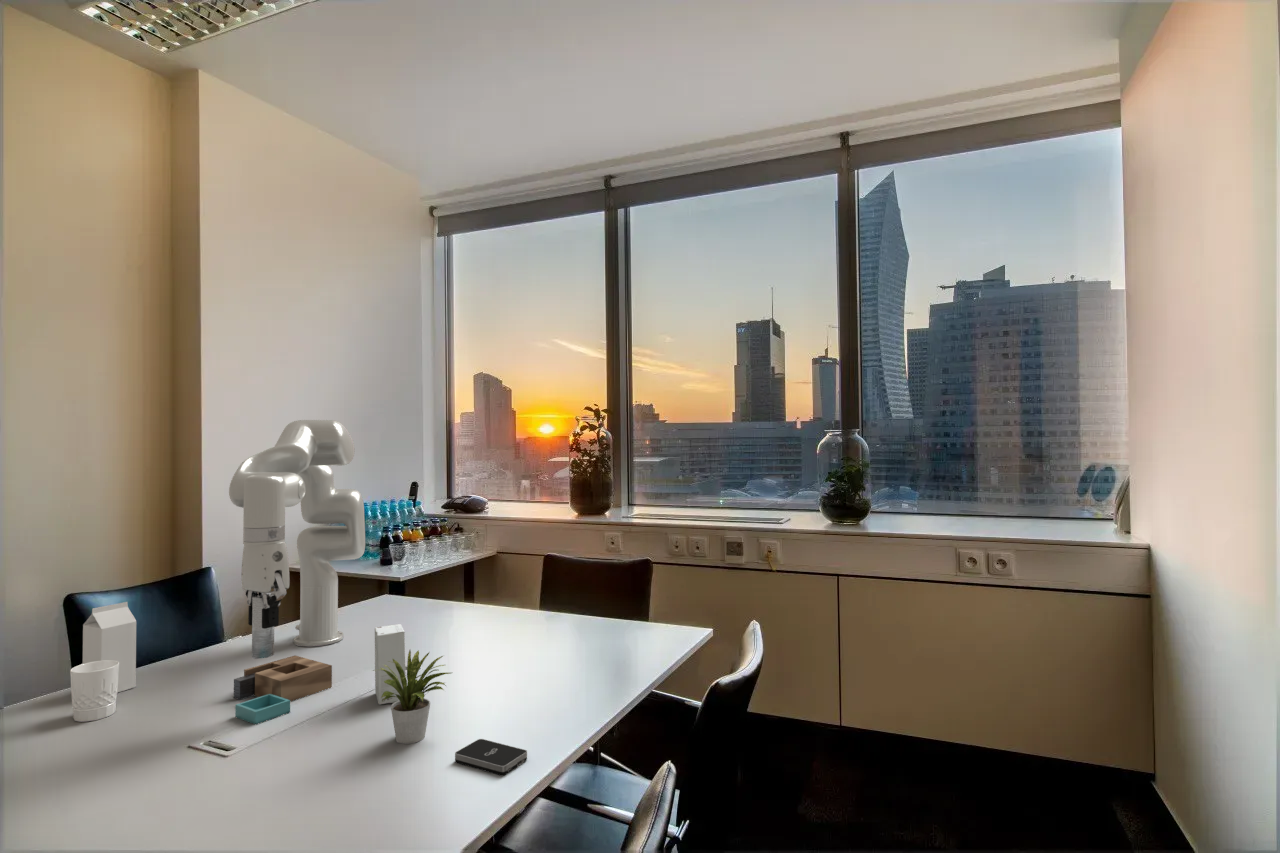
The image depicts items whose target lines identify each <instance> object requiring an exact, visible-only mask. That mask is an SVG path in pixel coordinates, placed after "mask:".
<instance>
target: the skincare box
mask: <svg viewBox="0 0 1280 853" xmlns="http://www.w3.org/2000/svg"><path fill="white" fill-rule="evenodd" d="M405 633H406V631H405V630H404V628H403V625H402V624H401V623H398V624H397V623H396V624H391V625H382V626H375V627H374V678H375V679H374V681H375V682H374V686H375V688H374V689H375V695H376V696H375V697H376V700H377V703H378V705H385V704H391V703H392V704H393V703H395V702H397V701H399V699H398V698H397V696H396V695H395V694H398V695H399V693H398V692H397V690H396V689H395V688H394V687H392V686H390V685H388V684H386V683H385V682H384V681H385V680H388V679H391V680H393V679H392V678H391V677H390V676H389V675H388V674H387V673H386V672H385V671H383V670H382V669H381V668H383V669H385V670H387V671H389V672H390V673H392V672H391V671H390V669H391V670H392V671H393V672H394V673H395V675H396V676H397V678H398V680H399V682H400V684H401V687H402V689H403V686H402V683H401V679H400V675H399V672H398V670H397V669H396V666H395V663H393V659H394V660H395V661H397V662H398V663H399V664H400V666H401V667H402V669H403V671H404V674H405V677H406V678H407V671H406V646H405V644H406V643H405V641H406V640H405V635H406V634H405ZM388 661H390V662H388ZM384 665H386V666H388V667H389V668H390V669H389V668H388V667H386V666H384ZM392 674H393V673H392ZM393 675H394V674H393ZM395 675H394V676H395ZM397 678H396V679H397ZM385 691H389V692H392V693H394V695H390V696H396V697H391V698H388V699H385V700H383V699H384V698H385V697H382V695H383V693H384V692H385ZM381 697H382V698H381ZM382 700H383V701H382Z"/></svg>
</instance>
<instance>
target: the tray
mask: <svg viewBox="0 0 1280 853" xmlns="http://www.w3.org/2000/svg"><path fill="white" fill-rule="evenodd" d="M234 709H235V710H234V711H235V712H234V714H235V715H234V716H235V718H236V717H237V718H236V719H239V720H241V719H242V721H244V722H247V723H249V722H250V724H252V723H253V725H255V724H256V725H258V723H259V724H262V723H265V722H267V721H266V720H268V721H270V720H273V719H277V718H279V717H282V716H284V715H283V714H285V715H286V713H287V714H290V713H291V702H290V700H288V699H285V698H282V697H279V696H276V695H273V694H267V695H264V696H261V697H255V698H252V699H249V700H246V701H242V702H240V703H236V704H235V708H234ZM289 712H290V713H289ZM281 715H282V716H281ZM278 716H279V717H278ZM272 718H273V719H272ZM269 719H270V720H269ZM264 721H265V722H264ZM261 722H262V723H261Z"/></svg>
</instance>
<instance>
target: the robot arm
mask: <svg viewBox="0 0 1280 853" xmlns="http://www.w3.org/2000/svg"><path fill="white" fill-rule="evenodd" d="M354 457H355V443H354V440H353V438H352V436H351V434H350V432H349V431H348V429H347V428H346V427H345V425H344V424H343V423H341V422H340V421H337V420H333V419H321V420H320V419H299V420H298V419H297V420H294V421H292V422H289V423H288V424H287V425H286V426H285V427H284V428H283V430H282V431H281V434H280V436H279V438H278V439H277V441H276V443H275V444H274V446H273V447H270V448H268V449H266V450H263V451H260V452H259V453H256V454H254V455H252V456H250V457H248V458H246V459H244V460H243V461H242V462H241V463H240V465H239V466H238V468H237V469H236V471H235V473H234V474H233V476H232V478H231V480H230V483H229V487H228V495H229V496H228V497H229V499H230V501H231V503H232V504H233V505H234V506H236V507H238V508H241V509H242V508H243V517H242V518H243V520H242V522H243V523H242V524H243V525H242V526H243V529H242V530H243V532H242V533H243V537H242V544H243V549H242V557H241V558H242V560H241V578H240V579H241V588H242V590H243V591H244V593H245V595H246V596H245V597H246V598H247V599H246V600H247V601H246V603H247V606H248V620H247V621H248V623H247V624H248V625H249V626H252V598H253V597H254V596H257V595H263V600H264V608H263V609H262V628H264V629H266V628H270V627H274V628H275V627H277V626H279V624H280V622H279V621H280V616H279V613H280V611H279V610H280V608H279V607H280V606H281V601H282V600H283V599H284V598H285V597H286V596H287V590H288V589H289V588H290V565H289V564H290V563H289V554H288V553H289V552H288V547H287V543H286V508H289V507H290V508H291V507H294V506H296V505H299V503H300V512H301V516H302V519H303V521H304V522H306V523H308V524H313V525H314V524H315V525H316V524H317V525H319V524H320V526H310V527H307V528H304V529H303V530H301V531H300V533H299V534H298V536H297V539H296V548H297V549H296V550H297V555H298V559H299V560H298V561H299V573H300V574H299V575H300V578H299V580H300V591H299V592H300V597H299V598H300V604H299V605H300V606H299V608H300V610H299V612H300V614H299V615H300V616H299V617H300V619H299V620H300V621H299V624H297V625H295V626H294V627H295V630H297V631H298V635H297V636H295V637H294V638H293V644H294V645H296V646H299V647H307V648H310V647H320V646H327V645H332V644H335V643H338V642H341V641H342V640H343V639H344V637H345V636H344V633H343V632H342V631H340V630H339V628H338V627H339V626H338V623H339V622H338V616H339V615H338V612H339V610H338V609H339V606H338V605H339V600H338V599H339V577H338V573H337V571H336V569H335V568H334V567H333V565H331V563H330V562H331V561H332V562H333V561H351V560H353V561H354V560H357V559H360V558H361V557H363V555H364V554H365V551H366V550H365V549H366V524H365V520H366V519H365V505H364V504H365V503H364V499H363V495H362V494H361V492H360V491H359V490H357V489H356V488H355V489H352V488H335V482H334V471H333V469H332V468H331V466H332V467H334V466H335V467H338V466H347V465H350V464H351V463H352V461H353V459H354ZM329 524H331V525H329ZM332 524H344V525H332ZM321 525H323V526H321ZM325 525H326V526H325ZM272 589H273V590H272ZM272 594H273V595H274V596H272V597H271V598H270V600H269V595H272Z"/></svg>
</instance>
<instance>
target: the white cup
mask: <svg viewBox="0 0 1280 853" xmlns="http://www.w3.org/2000/svg"><path fill="white" fill-rule="evenodd" d="M118 676H119V662H118V661H115V660H103V661H95V662H89V663H85V664H83V663H81V664H79V665H76V666H74V667H72V668H70V692H71V693H70V694H71V707H72V713H73V714H72V717H73V718H72V719H73V721H74V722H79V723H80V722H82V723H83V722H84V723H85V722H94V721H99V720H102V719H104V718H108V717H110V716H111V715H113V714H115V712H117V711H116V709H117V707H116V706H117V697H118V692H117V689H118Z"/></svg>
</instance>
